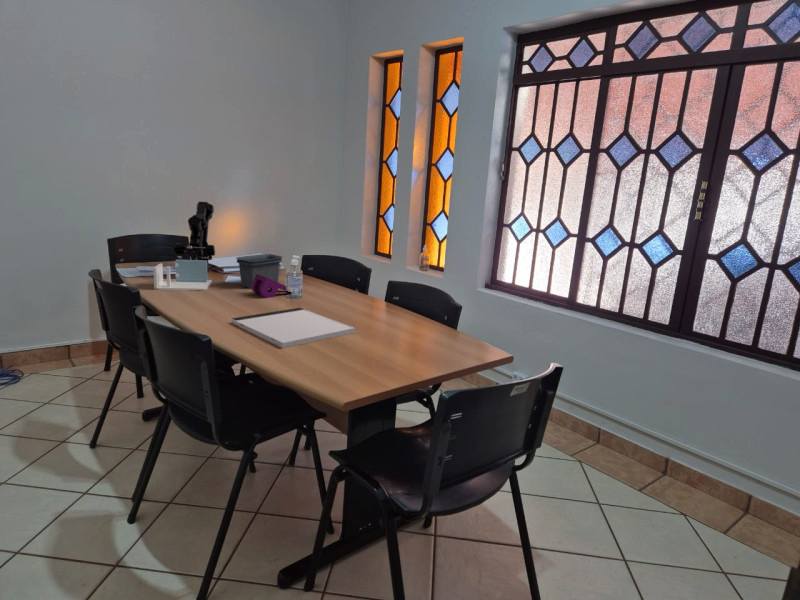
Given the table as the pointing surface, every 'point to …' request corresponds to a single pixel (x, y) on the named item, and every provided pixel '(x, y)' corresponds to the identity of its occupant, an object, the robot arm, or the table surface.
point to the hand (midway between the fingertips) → (192, 263)
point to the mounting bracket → (266, 286)
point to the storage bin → (258, 267)
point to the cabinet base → (172, 283)
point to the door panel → (191, 270)
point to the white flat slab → (292, 327)
